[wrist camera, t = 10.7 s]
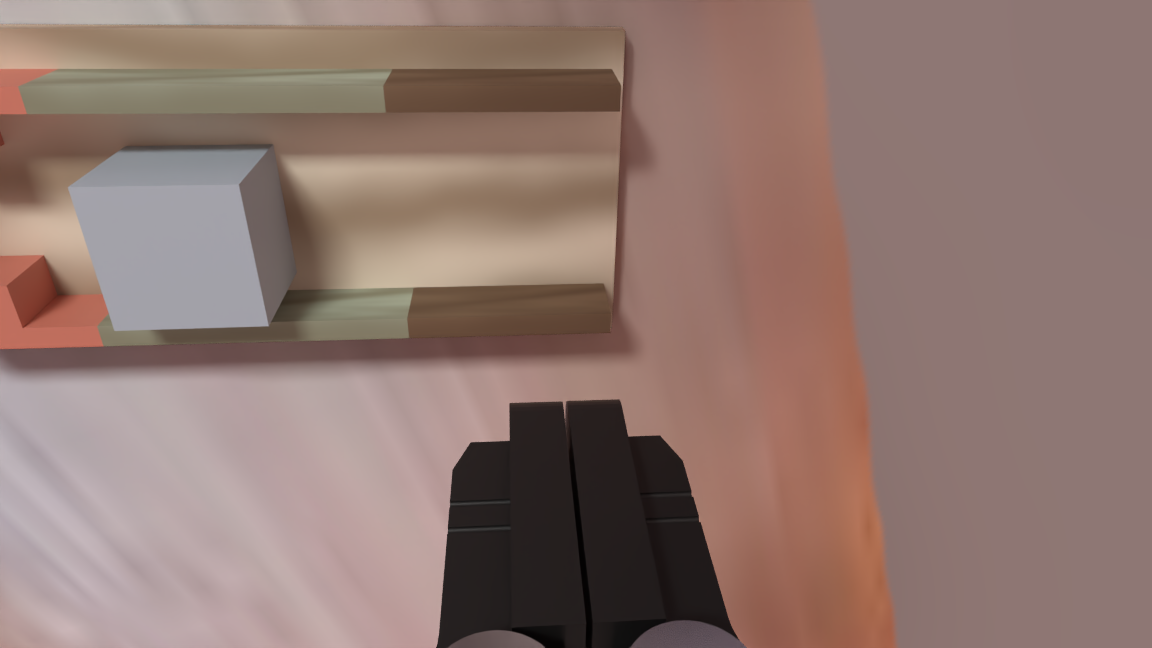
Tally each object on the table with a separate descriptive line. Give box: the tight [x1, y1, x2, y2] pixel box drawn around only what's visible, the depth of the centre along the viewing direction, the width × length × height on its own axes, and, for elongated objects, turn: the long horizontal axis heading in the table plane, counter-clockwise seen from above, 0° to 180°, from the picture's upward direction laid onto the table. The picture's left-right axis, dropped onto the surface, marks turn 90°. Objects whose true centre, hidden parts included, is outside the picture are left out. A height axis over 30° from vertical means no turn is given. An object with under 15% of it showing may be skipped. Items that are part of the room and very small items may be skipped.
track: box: [0, 24, 625, 346], centre depth 33 cm, size 14×31×4 cm, turn 89°
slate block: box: [68, 144, 297, 331], centre depth 32 cm, size 6×6×5 cm
